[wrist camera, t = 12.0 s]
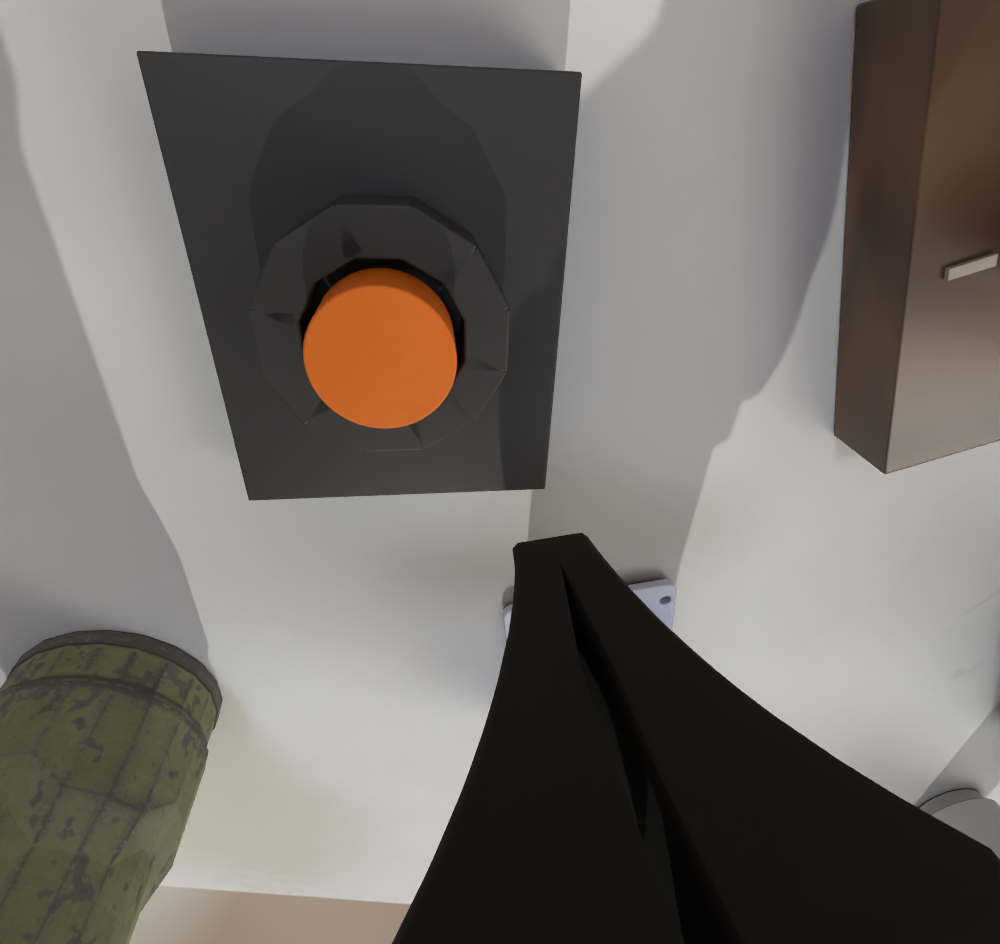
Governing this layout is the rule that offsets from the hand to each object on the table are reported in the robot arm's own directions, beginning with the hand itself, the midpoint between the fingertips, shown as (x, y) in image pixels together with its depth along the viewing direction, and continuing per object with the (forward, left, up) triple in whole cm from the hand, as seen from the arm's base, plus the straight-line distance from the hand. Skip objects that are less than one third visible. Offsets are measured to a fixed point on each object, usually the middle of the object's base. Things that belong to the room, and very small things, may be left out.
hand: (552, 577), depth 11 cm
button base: (+3, +3, -10) cm, 11 cm away
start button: (+3, +3, -7) cm, 8 cm away
